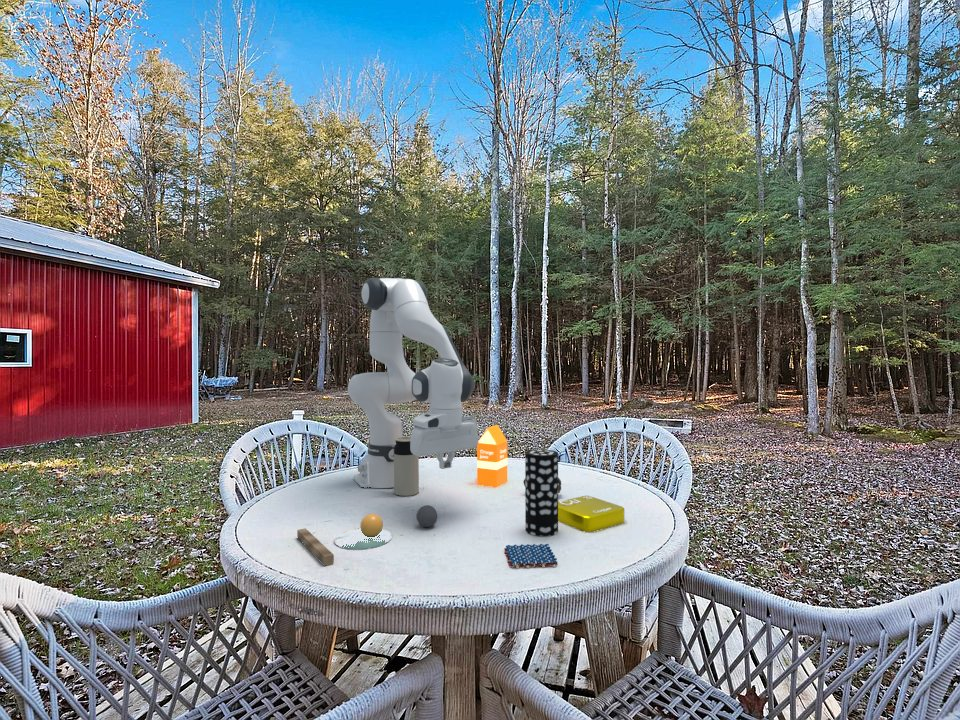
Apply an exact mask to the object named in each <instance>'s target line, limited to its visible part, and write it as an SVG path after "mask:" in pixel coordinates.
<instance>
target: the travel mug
mask: <svg viewBox="0 0 960 720" xmlns="http://www.w3.org/2000/svg"><path fill="white" fill-rule="evenodd" d="M395 441H396V445H395V447H394V487H393V494H394V495H396V496H398V495H399V496H400V497H412V496H415V495H417V494H418V493H420V489H419V487H420V486H419V485H420V477H419V476H420V475H419V471H420V470H419V469H420V467H419V465H420V464H419V462H420V458H419V457H420V456H415V455H413V454H412V452H411V450H410V442H411V435H410V436H407V435H402V437H397V438H395Z"/></svg>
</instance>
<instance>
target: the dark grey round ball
mask: <svg viewBox="0 0 960 720" xmlns="http://www.w3.org/2000/svg"><path fill="white" fill-rule="evenodd" d="M437 511H438V510H437V509H436V508H435V507H434V506H432V505H429V504H427V505H422V506H421V507H420V508H419V509H418V511H416V521H417V523H418V524H419V525H420V526H421V527H423V528H431V527H432V526H434V525H435V524H436V522H437V521H438V517H439V516H438V512H437Z"/></svg>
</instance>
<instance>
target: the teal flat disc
mask: <svg viewBox="0 0 960 720" xmlns="http://www.w3.org/2000/svg"><path fill="white" fill-rule="evenodd" d="M379 536H380V535H379ZM379 536H378V537H379ZM378 537H377V538H378ZM379 538H380V537H379ZM369 539H370V538H369ZM369 539H368V543H367V541H366V543H365V541H364V542H363V541H362V542H361V541H360V542H359V541H358V542H357V543H356V544H355V546H354V544H353V546H354V547H353V546H352V547H351V545H352V544H351V545H350V546H349V545H348V546H347V544H346V546H347V547H346V546H345V547H344V545H343V546H342V548H341V549H343V547H344V548H346V549H345V550H349V549H364V550H369V549H368V548H371V549H374V547H375V548H378V547H377V546H379V547H381V546H380V545H382V546H384V545H386V544H388V543H387V542H386V544H385V540H384V541H383V540H382V542H381V541H380V542H379V541H378V542H377V541H373V539H372V538H371V539H372V540H371V539H370V540H369ZM364 540H365V539H364ZM366 540H367V539H366ZM374 540H375V539H374ZM376 540H377V539H376ZM378 540H379V539H378ZM380 540H381V539H380ZM369 541H370V542H369ZM383 544H384V545H383ZM348 547H349V548H348Z"/></svg>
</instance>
